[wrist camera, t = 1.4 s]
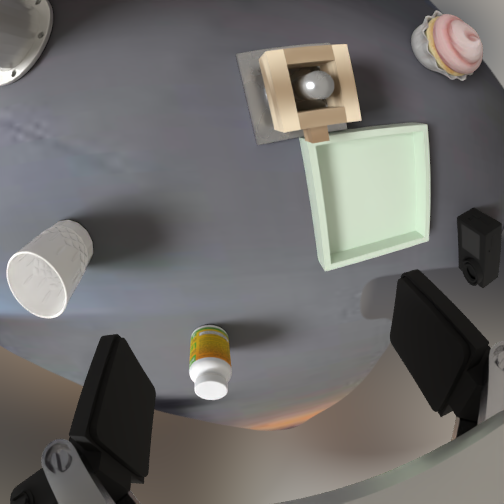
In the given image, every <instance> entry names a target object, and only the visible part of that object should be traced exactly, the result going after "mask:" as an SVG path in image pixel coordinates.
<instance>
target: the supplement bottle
mask: <svg viewBox="0 0 504 504" xmlns="http://www.w3.org/2000/svg"><path fill="white" fill-rule="evenodd" d="M189 373H190V377H191V379H192V380H193V382H194V383H195V393H196V394H197V395H198V396H199V397H201V398H203V399H208V400H216V399H220V398H222V397H224V396H225V395H226V394H227V392H228V383H227V382H228V381H229V380H230V378H231V374H232V370H231V359H230V348H229V338H228V335H227V333H226V332H225V331H224V330H223V329H222V328H220V327H218V326H215V325H204V326H201V327H199V328H197V329H196V330H195V331H194V332H193V333H192V336H191V346H190V368H189Z"/></svg>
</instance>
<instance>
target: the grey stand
mask: <svg viewBox="0 0 504 504" xmlns="http://www.w3.org/2000/svg"><path fill="white" fill-rule="evenodd" d="M320 45H330V43H318V44H305V45H294V46H285V47H277V48H270V49H263V50H256V51H250V52H245V53H239V54H236V60H237V64H238V68H239V72H240V76H241V80H242V84H243V88H244V93H245V97H246V101H247V105H248V110H249V114H250V118H251V122H252V127H253V131H254V136H255V140H256V144H257V145H262V144H266V143H271V142H276V141H281V140H286V139H291V138H296V137H301V136H304V132H303V129H301V130H296V131H290V132H285V133H284V132H280V131H277V130H274V125H273V120H272V116H271V111H270V107H269V102H268V98H267V94H266V89H265V85H264V81H263V76H262V72H261V68H260V64H259V58H260V57H261V56H262V55H263V54H264V53H265V52H266V51H271V50H278V49H287V48H296V47H306V46H320ZM288 72H289V76H290V81H291V85H292V90H293V94H294V99H295V104H296V108H297V111H301V110H307V109H314V108H321V107H328V105H327V100H326V98H327V97H329V96H330V95H331V94H332V93H333V91H334V81H333V79H332V78H331V76H330V75H329V74H328V73H326V72H324V71H320V67H319V66H312V67H303V68H295V69H288ZM327 128H328V132H331V131H337V130H344V129H347V124H346V123H339V124H332V125H327Z"/></svg>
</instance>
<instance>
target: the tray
mask: <svg viewBox="0 0 504 504" xmlns="http://www.w3.org/2000/svg"><path fill="white" fill-rule="evenodd" d="M328 134H329V140H330V141H324V142H318V143H310V142H307V141H305V137H304V136H303V137H299V140H300V145H301V150H302V156H303V162H304V167H305V173H306V179H307V185H308V191H309V198H310V204H311V211H312V218H313V225H314V232H315V239H316V247H317V255H318V261H319V262H320V264H321V266H322V267H323V269H324V270H325V271H329V270H332V269H336V268H340V267H343V266H347V265H350V264H354V263H357V262H361V261H364V260H367V259H371V258H374V257H378V256H381V255H384V254H388V253H391V252H394V251H398V250H401V249H404V248H407V247H411V246H414V245H417V244H420V243H423V242H427V241H429V227H430V155H429V139H428V127H427V124H422V123H416V122H410V123H398V124H388V125H378V126H370V127H361V128H354V129H347V130H340V131H333V132H328Z"/></svg>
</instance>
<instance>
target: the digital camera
mask: <svg viewBox="0 0 504 504" xmlns="http://www.w3.org/2000/svg"><path fill="white" fill-rule="evenodd" d="M470 217H471V218H470ZM460 218H461V219H460ZM470 220H471V221H470ZM470 224H471V225H470ZM457 225H458V247H459V268H460V269H461V270H462V271H463V274H464V277H465V278H466V280H467V281H468V283H470V284H471V285H473V286H476V285H477V284H478V285H479V286H480V287H482V288H484V287H485V286H487V285H488V284H489V283H491V282H492V281H493V280H495V279H496V278H497V277H498V272H499V263H500V252H501V251H500V250H501V231H502V224H501V223H500V222H498V221H496V220H495V219H493V218H491V217H489V216H488V215H486V214H484V213H482V212H481V211H479V210H477V209H475V208H472V209H470V210H469V211H467V212H465V213H464V214H462V215H460V216H458V217H457Z"/></svg>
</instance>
